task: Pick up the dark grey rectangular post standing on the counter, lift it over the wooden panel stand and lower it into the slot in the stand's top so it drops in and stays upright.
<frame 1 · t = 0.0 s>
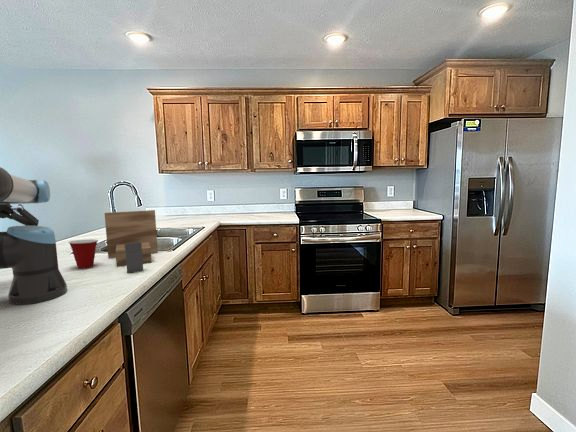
hand: (10, 239, 120), 15 cm above the countertop, tool tilted 35°, fingers open, 13 cm apart
dark grey rectangular post: (135, 271, 128), on the countertop
wooden panel stand: (134, 260, 144), on the countertop
plastic cup: (86, 267, 135), on the countertop
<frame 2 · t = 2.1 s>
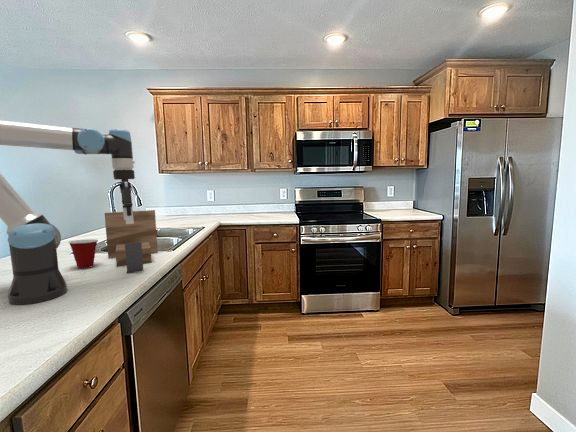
hand: (128, 221, 126), 21 cm above the countertop, tool pointing down, fingers open, 13 cm apart
nothing on the countertop moved.
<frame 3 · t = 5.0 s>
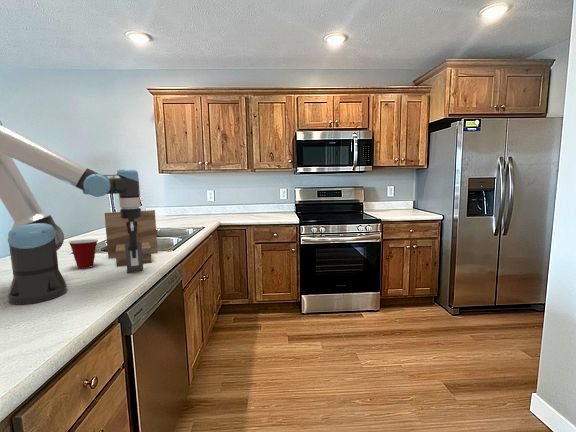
hand: (134, 264, 128), 3 cm above the countertop, tool pointing down, fingers closed on dark grey rectangular post, 3 cm apart
dark grey rectangular post: (135, 271, 128), on the countertop, touching gripper
everything else where it was.
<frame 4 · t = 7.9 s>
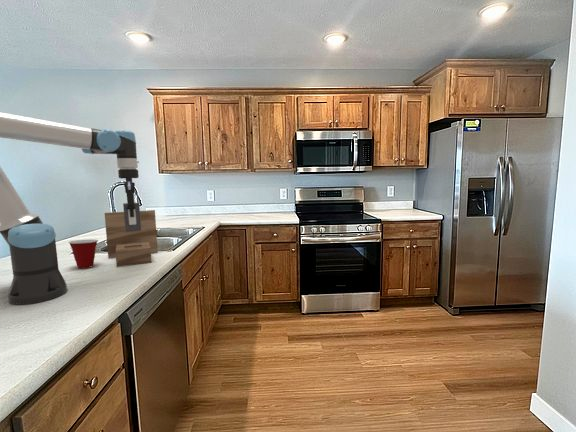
hand: (132, 223, 133), 19 cm above the countertop, tool pointing down, fingers closed on dark grey rectangular post, 3 cm apart
dark grey rectangular post: (133, 230, 133), point 16 cm above the countertop, touching gripper
everything else where it was.
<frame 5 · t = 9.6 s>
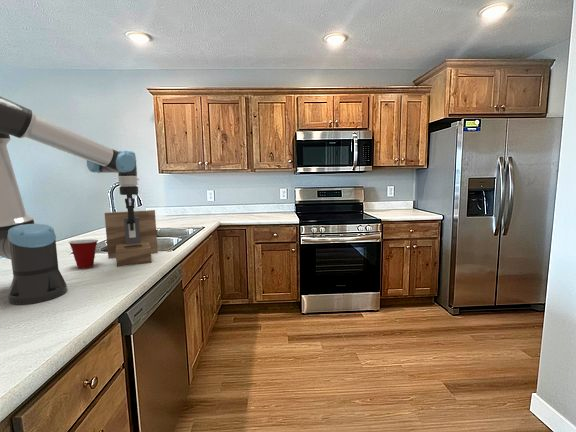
hand: (132, 236, 142), 12 cm above the countertop, tool pointing down, fingers closed on dark grey rectangular post, 3 cm apart
dark grey rectangular post: (133, 243, 143), point 8 cm above the countertop, touching gripper
everything else where it was.
when the fingers open (8 cm above the countertop, at t = 10.9 s): dark grey rectangular post drops 4 cm, resting on wooden panel stand.
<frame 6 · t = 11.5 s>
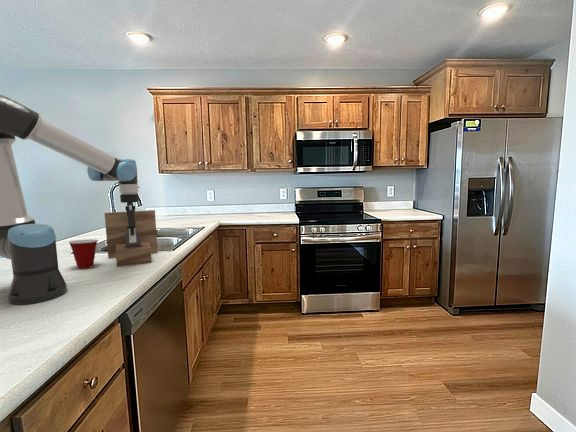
hand: (132, 239, 143), 10 cm above the countertop, tool pointing down, fingers open, 12 cm apart
dark grey rectangular post: (134, 258, 144), point 1 cm above the countertop, touching wooden panel stand
everything else where it was.
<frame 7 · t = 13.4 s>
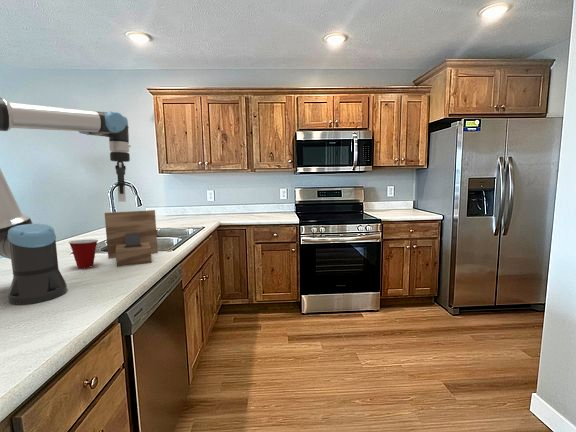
hand: (122, 200, 137), 28 cm above the countertop, tool pointing down, fingers open, 13 cm apart
nothing on the countertop moved.
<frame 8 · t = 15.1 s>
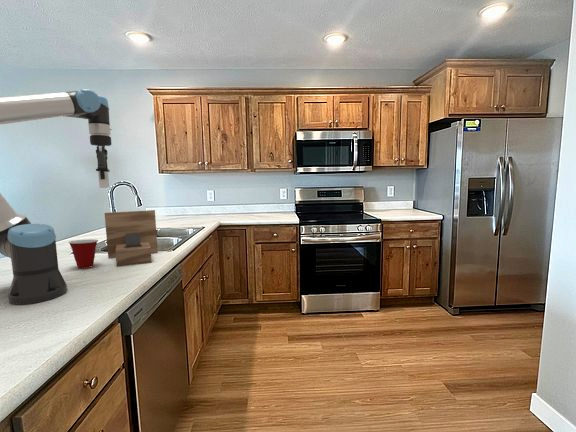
hand: (104, 187, 129), 35 cm above the countertop, tool pointing down, fingers open, 13 cm apart
nothing on the countertop moved.
at the end: dark grey rectangular post 0.1 cm off-centre on the wooden panel stand, point 1.0 cm above the wooden panel stand's base; dark grey rectangular post tilted 0°; the gripper is holding nothing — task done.
